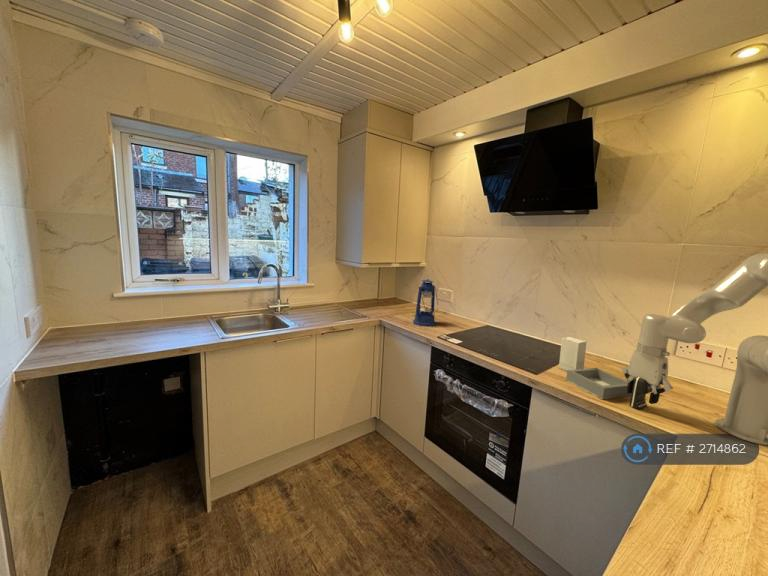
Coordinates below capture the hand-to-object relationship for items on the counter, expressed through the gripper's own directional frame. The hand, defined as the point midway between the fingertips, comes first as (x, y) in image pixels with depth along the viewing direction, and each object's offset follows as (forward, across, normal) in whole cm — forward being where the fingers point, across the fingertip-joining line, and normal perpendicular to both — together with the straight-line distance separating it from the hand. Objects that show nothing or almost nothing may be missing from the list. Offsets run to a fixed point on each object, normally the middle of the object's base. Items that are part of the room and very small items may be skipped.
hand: (641, 397), depth 109 cm
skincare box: (+4, +31, -2) cm, 31 cm away
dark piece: (+4, 0, 0) cm, 4 cm away
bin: (+4, +15, +1) cm, 15 cm away
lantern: (+4, +113, +34) cm, 118 cm away
